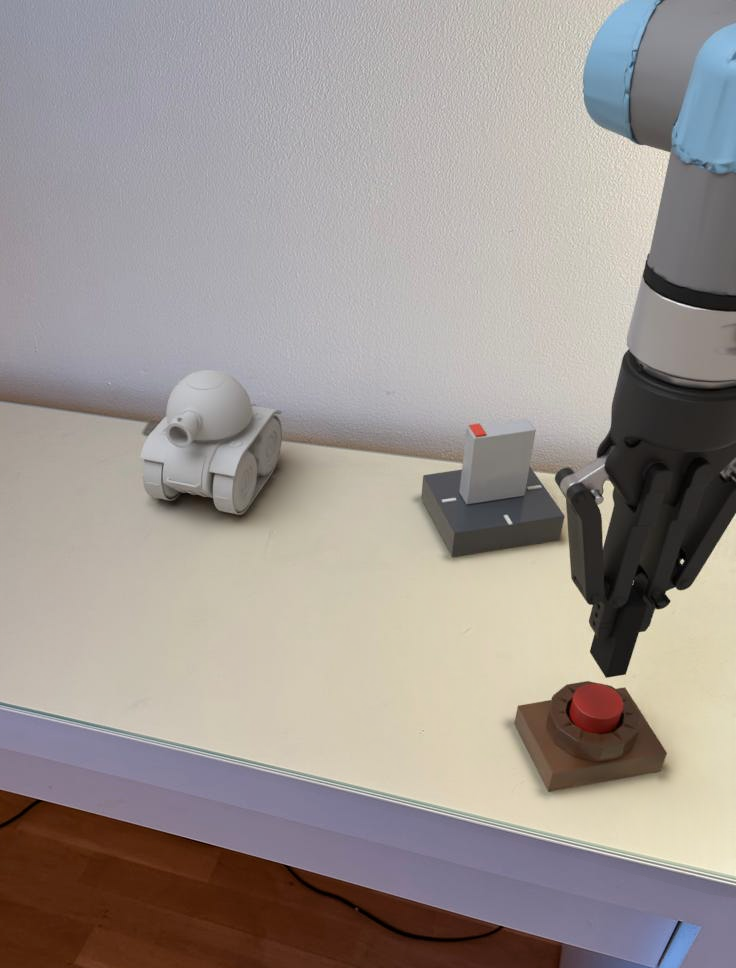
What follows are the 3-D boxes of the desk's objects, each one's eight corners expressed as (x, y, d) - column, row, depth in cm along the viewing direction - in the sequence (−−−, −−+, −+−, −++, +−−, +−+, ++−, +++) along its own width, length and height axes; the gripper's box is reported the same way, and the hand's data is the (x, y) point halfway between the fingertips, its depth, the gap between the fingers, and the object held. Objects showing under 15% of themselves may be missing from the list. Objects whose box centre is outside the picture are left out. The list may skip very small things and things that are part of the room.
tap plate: (521, 483, 101) (525, 457, 99) (560, 541, 94) (565, 514, 92) (420, 498, 100) (422, 473, 98) (452, 558, 93) (455, 531, 91)
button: (606, 695, 74) (610, 679, 73) (627, 729, 72) (632, 714, 70) (561, 703, 74) (565, 687, 73) (581, 737, 71) (585, 722, 70)
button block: (619, 705, 78) (630, 670, 75) (660, 771, 73) (673, 737, 70) (513, 723, 77) (520, 689, 75) (547, 791, 72) (556, 758, 70)
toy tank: (233, 533, 98) (223, 421, 89) (141, 514, 101) (122, 404, 92) (286, 456, 107) (282, 348, 98) (201, 440, 111) (189, 335, 102)
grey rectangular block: (516, 483, 96) (527, 415, 91) (524, 496, 95) (536, 427, 89) (459, 492, 96) (466, 424, 90) (466, 505, 94) (474, 436, 89)
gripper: (613, 407, 49) (541, 715, 65) (848, 375, 50) (720, 685, 67) (555, 341, 55) (501, 641, 71) (768, 314, 56) (667, 615, 72)
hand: (607, 662), depth 69 cm, fingers closed
